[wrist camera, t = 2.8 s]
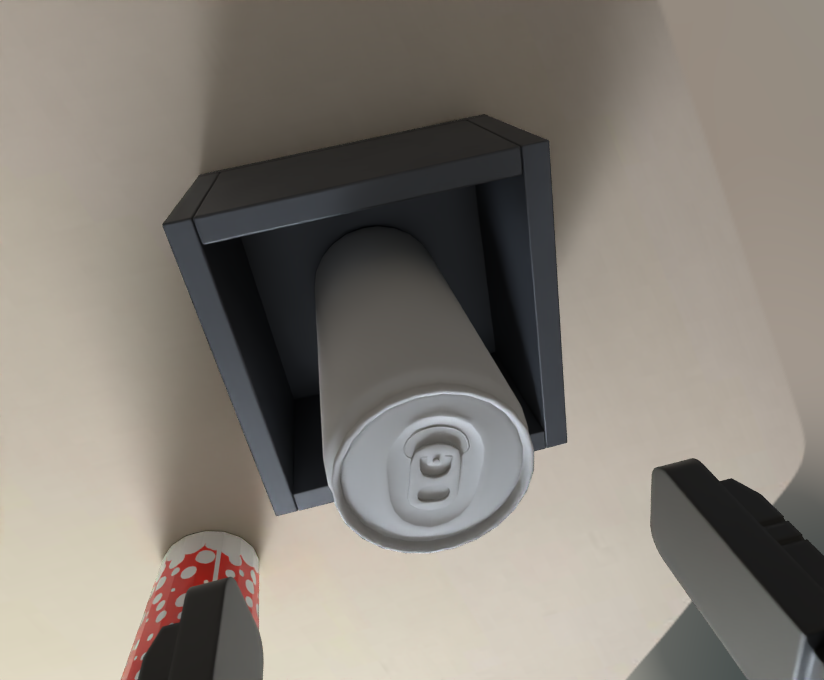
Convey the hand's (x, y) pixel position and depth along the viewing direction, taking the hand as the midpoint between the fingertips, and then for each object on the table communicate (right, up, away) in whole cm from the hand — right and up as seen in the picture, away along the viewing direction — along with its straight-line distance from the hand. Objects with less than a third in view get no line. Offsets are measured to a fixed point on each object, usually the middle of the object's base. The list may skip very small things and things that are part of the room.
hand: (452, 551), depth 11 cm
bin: (-2, +7, +13) cm, 15 cm away
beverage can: (-2, +6, +13) cm, 14 cm away
